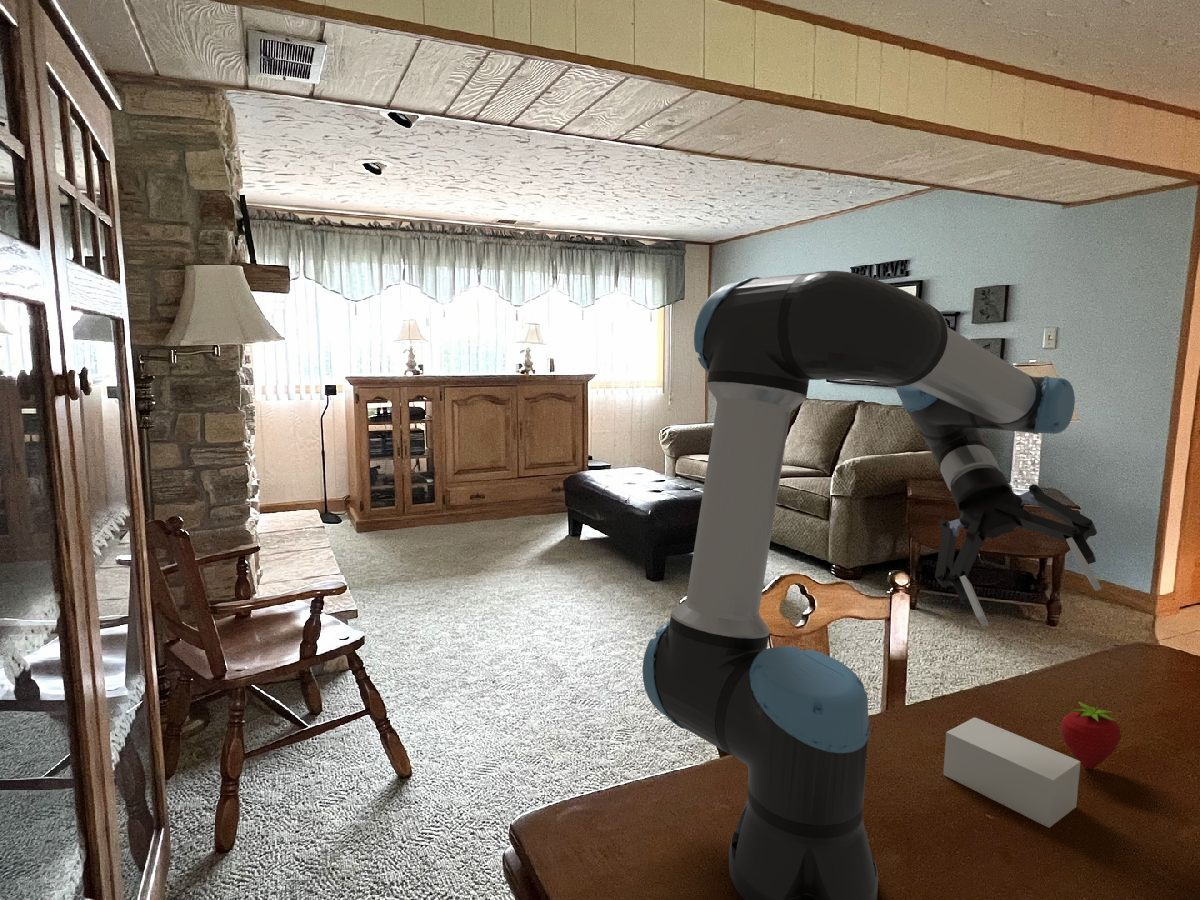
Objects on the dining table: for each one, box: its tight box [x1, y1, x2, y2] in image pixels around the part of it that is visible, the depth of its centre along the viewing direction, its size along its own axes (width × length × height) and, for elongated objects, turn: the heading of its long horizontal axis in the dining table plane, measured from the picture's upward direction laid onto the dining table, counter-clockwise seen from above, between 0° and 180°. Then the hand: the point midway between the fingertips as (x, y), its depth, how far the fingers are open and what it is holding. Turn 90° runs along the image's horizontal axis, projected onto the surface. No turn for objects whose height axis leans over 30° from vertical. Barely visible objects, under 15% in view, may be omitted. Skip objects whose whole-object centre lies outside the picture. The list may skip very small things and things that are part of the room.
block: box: [943, 717, 1081, 828], centre depth 91 cm, size 7×13×6 cm, turn 34°
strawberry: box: [1060, 694, 1122, 770], centre depth 96 cm, size 6×8×10 cm
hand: (1037, 604), depth 91 cm, fingers open, 13 cm apart
